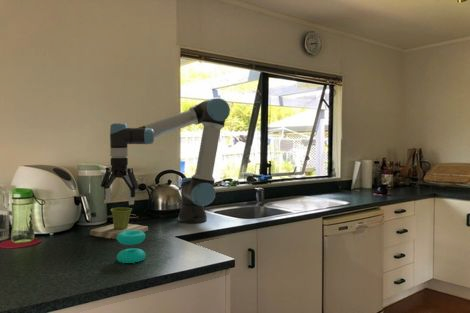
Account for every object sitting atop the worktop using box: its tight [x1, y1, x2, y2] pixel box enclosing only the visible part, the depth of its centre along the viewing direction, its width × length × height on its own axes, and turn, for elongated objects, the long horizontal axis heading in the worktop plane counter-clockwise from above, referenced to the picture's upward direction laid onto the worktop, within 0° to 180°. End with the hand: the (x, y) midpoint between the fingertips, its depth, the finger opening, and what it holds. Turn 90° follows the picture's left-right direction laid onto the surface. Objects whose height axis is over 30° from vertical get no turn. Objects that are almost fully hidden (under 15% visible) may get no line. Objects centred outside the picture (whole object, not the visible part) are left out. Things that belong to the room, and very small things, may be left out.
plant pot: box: [110, 207, 133, 229], centre depth 175 cm, size 9×9×9 cm
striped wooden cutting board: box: [89, 223, 149, 240], centre depth 176 cm, size 18×18×3 cm
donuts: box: [116, 230, 147, 264], centre depth 136 cm, size 10×10×10 cm
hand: (119, 203), depth 175 cm, fingers open, 13 cm apart
